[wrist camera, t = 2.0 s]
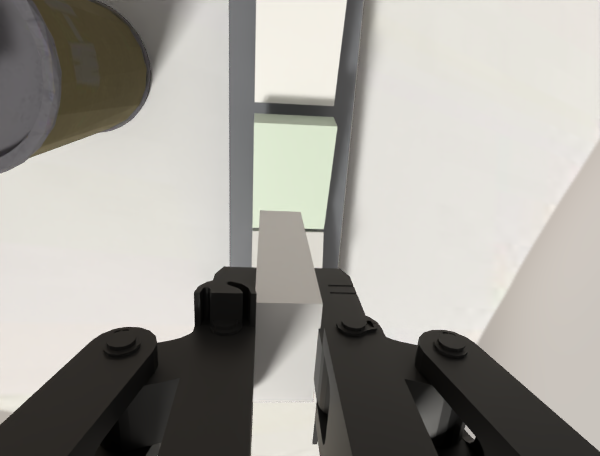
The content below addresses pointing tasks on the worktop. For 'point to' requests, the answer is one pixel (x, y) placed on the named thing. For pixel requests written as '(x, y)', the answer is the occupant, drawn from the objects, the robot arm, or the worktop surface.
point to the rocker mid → (293, 165)
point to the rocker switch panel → (245, 107)
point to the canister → (65, 74)
